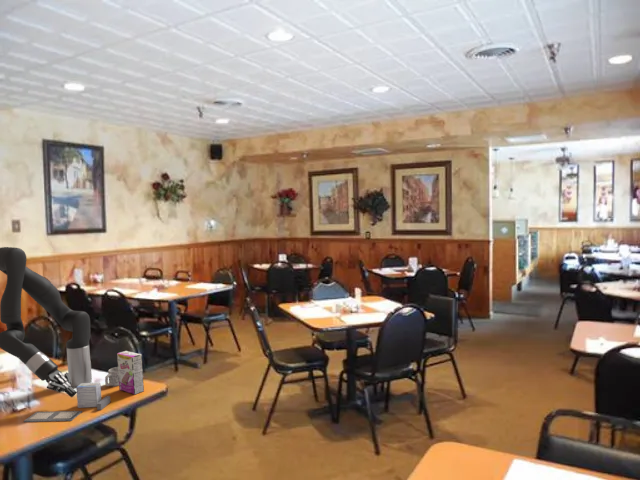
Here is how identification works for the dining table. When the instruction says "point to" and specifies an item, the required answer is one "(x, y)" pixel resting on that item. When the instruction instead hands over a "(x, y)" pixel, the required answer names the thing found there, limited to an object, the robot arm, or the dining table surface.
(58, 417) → the plate
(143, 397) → the dining table surface
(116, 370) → the mug
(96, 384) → the grey upright block
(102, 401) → the rubber stop
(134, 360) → the candy bar box
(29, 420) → the plate
